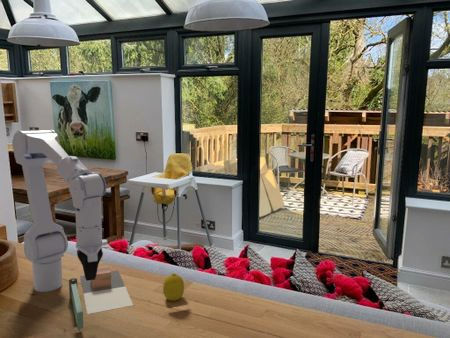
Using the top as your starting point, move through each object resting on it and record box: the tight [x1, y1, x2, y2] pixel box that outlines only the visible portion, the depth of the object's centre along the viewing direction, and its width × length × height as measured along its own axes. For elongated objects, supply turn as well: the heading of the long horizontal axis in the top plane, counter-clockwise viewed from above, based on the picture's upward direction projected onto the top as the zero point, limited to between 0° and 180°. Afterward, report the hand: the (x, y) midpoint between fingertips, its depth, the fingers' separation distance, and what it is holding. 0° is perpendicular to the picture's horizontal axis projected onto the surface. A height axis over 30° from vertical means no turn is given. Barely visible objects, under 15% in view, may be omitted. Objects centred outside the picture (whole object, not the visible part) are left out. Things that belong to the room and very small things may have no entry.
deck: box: [79, 270, 134, 315], centre depth 103 cm, size 22×11×1 cm, turn 25°
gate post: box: [68, 277, 78, 301], centre depth 98 cm, size 2×2×6 cm
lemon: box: [162, 272, 185, 302], centre depth 99 cm, size 6×6×8 cm
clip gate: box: [71, 284, 84, 330], centre depth 90 cm, size 1×15×4 cm, turn 26°
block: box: [91, 265, 112, 289], centre depth 107 cm, size 5×5×4 cm
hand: (90, 278), depth 91 cm, fingers closed
